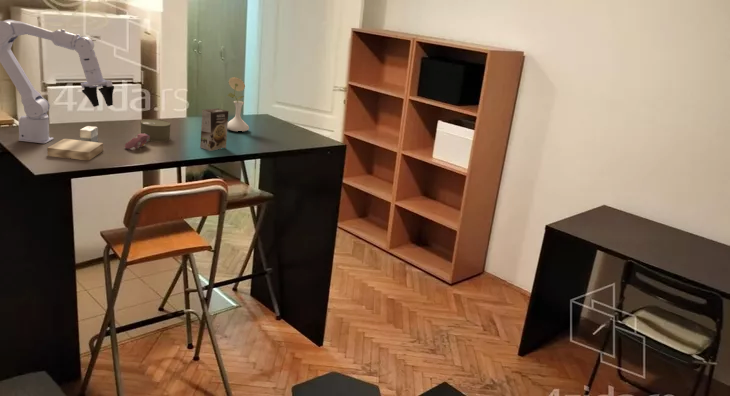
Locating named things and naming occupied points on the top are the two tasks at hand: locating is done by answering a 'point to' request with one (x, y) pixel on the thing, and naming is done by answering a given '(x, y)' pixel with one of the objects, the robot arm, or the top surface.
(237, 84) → the flower in vase
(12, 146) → the top surface
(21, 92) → the robot arm
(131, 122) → the top surface
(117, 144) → the top surface
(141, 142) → the pink toy
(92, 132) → the two-plate housing
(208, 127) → the coffee box
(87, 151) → the birch stand
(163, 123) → the can
